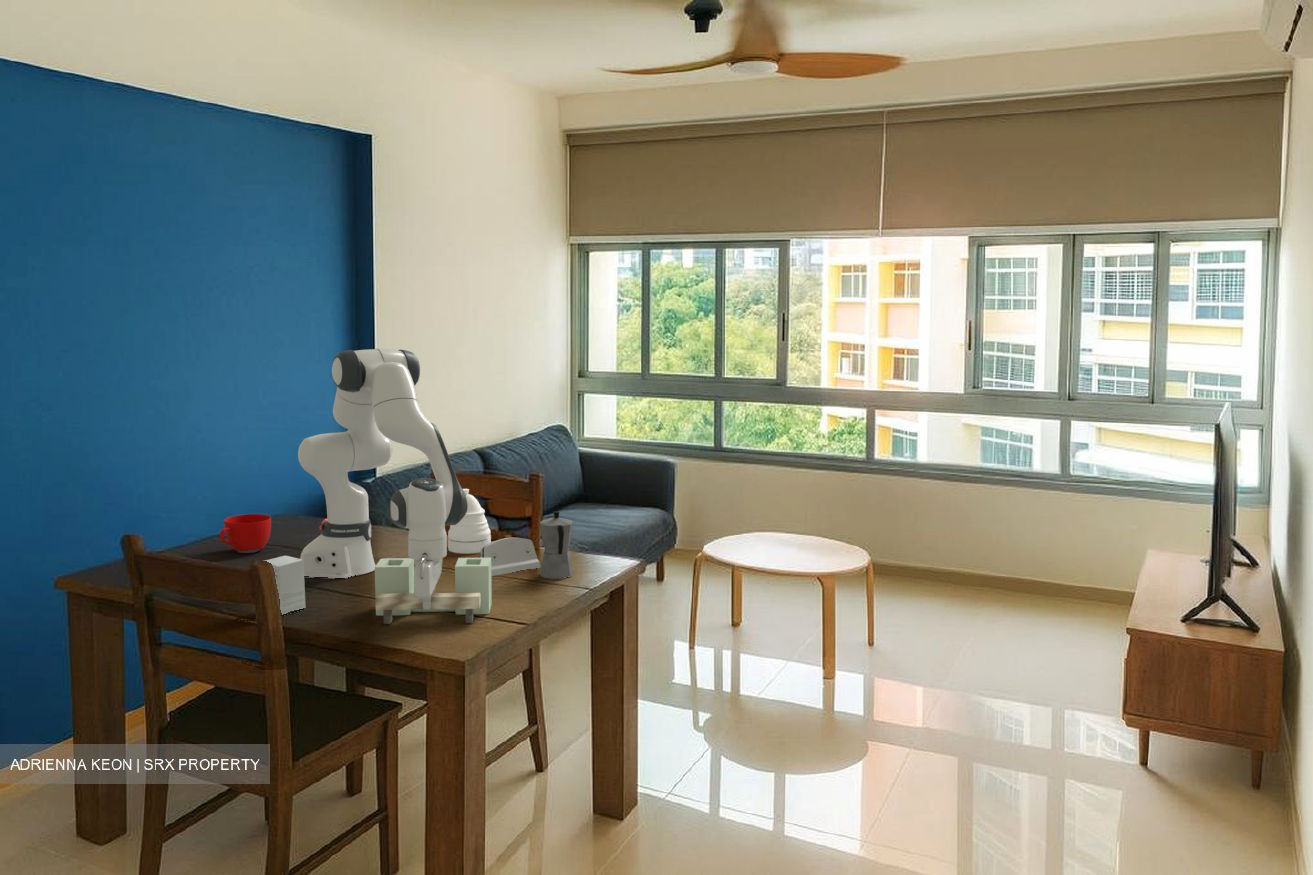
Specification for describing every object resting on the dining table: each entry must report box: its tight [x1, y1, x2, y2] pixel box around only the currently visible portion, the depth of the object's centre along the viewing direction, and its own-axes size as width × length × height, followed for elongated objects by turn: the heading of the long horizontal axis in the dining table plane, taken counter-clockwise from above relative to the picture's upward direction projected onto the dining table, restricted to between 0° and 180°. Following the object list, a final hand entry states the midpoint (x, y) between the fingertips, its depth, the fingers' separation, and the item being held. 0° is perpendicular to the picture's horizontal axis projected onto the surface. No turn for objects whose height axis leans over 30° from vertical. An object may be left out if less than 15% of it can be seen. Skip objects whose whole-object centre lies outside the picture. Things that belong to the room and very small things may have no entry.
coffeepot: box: [539, 510, 574, 580], centre depth 279 cm, size 15×9×18 cm, turn 15°
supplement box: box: [264, 555, 307, 615], centre depth 246 cm, size 7×7×13 cm
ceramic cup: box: [219, 513, 272, 551], centre depth 299 cm, size 13×17×10 cm
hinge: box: [480, 537, 541, 577], centre depth 286 cm, size 17×5×10 cm, turn 126°
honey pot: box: [447, 488, 492, 555], centre depth 308 cm, size 13×13×18 cm
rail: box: [374, 592, 481, 625], centre depth 239 cm, size 24×3×6 cm, turn 95°
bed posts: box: [374, 557, 493, 616], centre depth 248 cm, size 27×8×12 cm, turn 95°
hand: (428, 605), depth 239 cm, fingers closed on rail, 3 cm apart
